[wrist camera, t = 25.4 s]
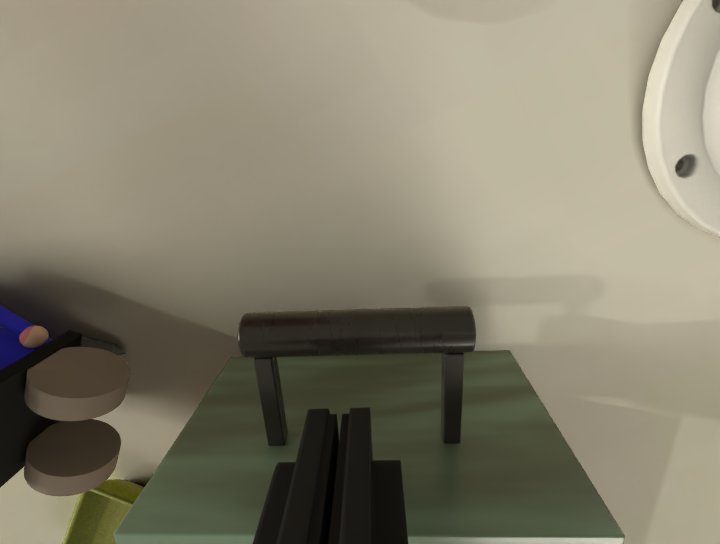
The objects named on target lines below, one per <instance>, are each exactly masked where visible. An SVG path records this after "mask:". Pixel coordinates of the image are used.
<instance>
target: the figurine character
mask: <svg viewBox="0 0 720 544" xmlns="http://www.w3.org/2000/svg"><path fill="white" fill-rule="evenodd" d="M0 326H2V327H4V328H1V327H0V487H1V486H3V485H4V484H5V483H6V482H7V481H8V480H9V479H10V478H12V477H13V476H14V475H15V474H16V473H17V472H18V471H19V470H21V469H22V468H23V467H24V466H25V467H24V477H25V480H26V482H27V483H28V485H29V486H30V487H31V488H33V489H34V490H36V491H38V492H40V493H43V494H46V495H52V496H69V495H75V494H79V493H83V492H86V491H88V490H91V489H93V488H95V487H97V486H98V485H100V484H101V483H103V482H104V481H105V480H106V479H107V478H108V477H109V476H110V475H111V474H112V472H113V471H114V469H115V467H116V464H117V459H118V455H119V450H120V445H121V439H120V436H119V434H118V432H117V431H116V430H115V429H114V428H113V427H112V426H110V425H109V424H107V423H105V422H102V421H99V420H94V419H92V418H96V417H99V416H102V415H105V414H107V413H109V412H111V411H112V410H114V409H115V408H116V407H118V406H119V405H120V404H121V402H122V401H123V399H124V397H125V394H126V389H127V384H128V380H129V375H130V368H129V365H128V364H127V362H126V361H125V360H124V359H123V358H121V357H120V356H118V355H121V354H125V352H124V351H123V350H122V349H121V348H119V347H118V346H117V345H115V344H110V343H106V342H102V341H98V340H94V339H89V338H85V337H82V334H80V333H77V332H74V331H71V330H69V331H68V332H66V333H64V334H62V335H61V336H57V338H55V339H54V340H52V339H48V336H49V335H48V331H47V330H46V329H45V328H44V327H42V326H35V325H34V324H32V323H30V322H29V321H27V320H25V319H23V318H22V317H20V316H18V315H17V314H15V313H13V312H11V311H10V310H8V309H6V308H5V307H3V306H1V305H0Z"/></svg>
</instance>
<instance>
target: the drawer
mask: <svg viewBox="0 0 720 544" xmlns="http://www.w3.org/2000/svg"><path fill="white" fill-rule="evenodd" d="M475 342H476V329H475V321H474V316H473V312H472V310H471V308H470V307H469V306H453V307H422V308H390V309H358V310H327V311H295V312H263V313H246V314H244V315H243V317H242V318H241V321H240V325H239V331H238V343H239V349H240V352H241V354H242V356H243V357H231V358H230V359H229V361H228V362H227V364H226V365H225V367H224V368H223V370H222V371H221V373H220V374H219V376H218V377H217V379H216V380H215V382H214V383H213V385H212V386H211V388H210V389H209V391H208V392H207V394H206V395H205V397H204V398H203V400H202V401H201V403H200V404H199V406H198V407H197V409H196V410H195V412H194V413H193V415H192V416H191V418H190V419H189V421H188V423H187V424H186V426H185V427H184V429H183V430H182V432H181V433H180V435H179V436H178V438H177V439H176V441H175V442H174V444H173V445H172V447H171V448H170V450H169V451H168V453H167V454H166V456H165V457H164V459H163V460H162V462H161V463H160V465H159V466H158V468H157V469H156V471H155V472H154V474H153V475H152V477H151V478H150V480H149V481H148V483H147V484H146V486H145V487H144V489H143V490H142V492H141V493H140V495H139V496H138V498H137V499H136V501H135V502H134V504H133V505H132V507H131V508H130V510H129V511H128V513H127V514H126V516H125V517H124V519H123V520H122V522H121V523H120V525H119V526H118V528H117V529H116V531H115V532H114V538H115V540H116V543H117V544H253V541H254V537H255V534H256V530H257V527H258V524H259V520H260V517H261V513H262V510H263V507H264V503H265V500H266V496H267V493H268V490H269V486H270V483H271V479H272V476H273V473H274V470H275V467H276V465H277V463H278V462H296V458H297V454H298V450H299V446H300V441H301V437H302V433H303V429H304V424H305V420H306V416H307V412H308V410H309V409H325V408H328V409H329V411H330V414H337V421H338V432H339V439H340V429H341V420H342V414H349V412H350V408H364V407H370V416H371V434H372V452H373V460H400V461H401V469H402V480H403V491H404V502H405V513H406V524H407V535H408V544H623V543H624V539H625V536H624V534H623V532H622V531H621V529H620V527H619V526H618V524H617V523H616V521H615V519H614V518H613V516H612V514H611V513H610V511H609V510H608V508H607V506H606V505H605V503H604V502H603V500H602V498H601V497H600V495H599V494H598V492H597V490H596V489H595V487H594V485H593V484H592V482H591V481H590V479H589V477H588V476H587V474H586V473H585V471H584V469H583V468H582V466H581V465H580V463H579V461H578V460H577V458H576V457H575V455H574V453H573V452H572V450H571V448H570V447H569V445H568V444H567V442H566V440H565V439H564V437H563V436H562V434H561V432H560V431H559V429H558V428H557V426H556V424H555V423H554V421H553V419H552V418H551V416H550V415H549V413H548V411H547V410H546V408H545V407H544V405H543V403H542V402H541V400H540V399H539V397H538V395H537V394H536V392H535V391H534V389H533V387H532V386H531V384H530V382H529V381H528V379H527V378H526V376H525V374H524V373H523V371H522V370H521V368H520V366H519V365H518V363H517V362H516V360H515V358H514V357H513V355H512V353H511V352H510V351H509V350H499V351H473V350H474V348H475Z"/></svg>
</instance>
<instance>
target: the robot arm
mask: <svg viewBox="0 0 720 544" xmlns="http://www.w3.org/2000/svg"><path fill="white" fill-rule="evenodd" d="M642 123H643V146H644V150H645V155H646V160H647V164H648V169H649V171H650V173H651V176H652V178H653V180H654V182H655V184H656V186H657V188H658V190H659V193H660V194H661V195H662V196H663V198H664V199H665V200H666V201H667V203H668V204H669V205H670V206H671V208H672V209H673V210H674V211H675V212H676V213H677V214H678V215H680V216H681V217H682V218H684V219H685V220H686V221H688V222H689V223H690V224H692V225H693V226H694V227H696V228H698V229H700V230H703V231H705V232H707V233H710V234H712V235H714V236H717V237H719V238H720V0H683V2H682V3H681V5H680V7H679V8H678V10H677V12H676V14H675V16H674V18H673V20H672V21H671V23H670V25H669V27H668V29H667V31H666V33H665V35H664V36H663V38H662V40H661V43H660V46H659V48H658V51H657V54H656V57H655V60H654V62H653V65H652V68H651V71H650V74H649V77H648V82H647V88H646V93H645V99H644V104H643V110H642ZM253 544H408V535H407V524H406V513H405V502H404V491H403V480H402V469H401V461H400V460H373V452H372V434H371V416H370V407H364V408H350V412H349V414H342V420H341V429H340V439H339V432H338V421H337V414H330V411H329V409H328V408H325V409H309V410H308V412H307V416H306V420H305V424H304V429H303V433H302V437H301V441H300V446H299V450H298V454H297V458H296V462H278V463H277V465H276V467H275V470H274V473H273V476H272V479H271V483H270V486H269V490H268V493H267V496H266V500H265V503H264V507H263V510H262V513H261V517H260V520H259V524H258V527H257V530H256V534H255V537H254V541H253Z"/></svg>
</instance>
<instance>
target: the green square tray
mask: <svg viewBox="0 0 720 544" xmlns="http://www.w3.org/2000/svg"><path fill="white" fill-rule="evenodd" d="M143 489H144V487H143V486H140V485H137V484H135V483H132V482H130V481H127V480H120V479H116V480H105V481H104V482H103V483H101V484H100V485H98V486H97V487H95V488H93V489H91V490H88V491H86V492H83V493H80V495H79V497H78V500H77V503H76V506H75V509H74V512H73V515H72V518H71V521H70V524H69V527H68V530H67V533H66V535H65V538H64V541H63V543H62V544H117V543H116V540H115V538H114V532H115V531H116V529H117V528H118V526H119V525H120V523H121V522H122V520H123V519H124V517H125V516H126V514H127V513H128V511H129V510H130V508H131V507H132V505H133V504H134V502H135V501H136V499H137V498H138V496H139V495H140V493H141V492H142V490H143Z"/></svg>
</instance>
